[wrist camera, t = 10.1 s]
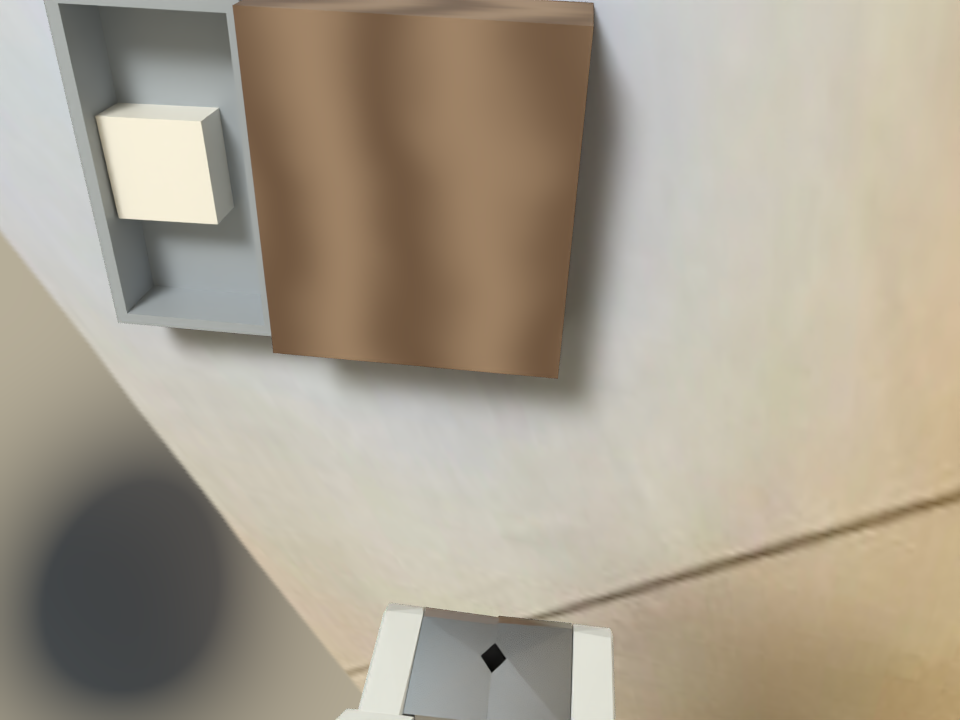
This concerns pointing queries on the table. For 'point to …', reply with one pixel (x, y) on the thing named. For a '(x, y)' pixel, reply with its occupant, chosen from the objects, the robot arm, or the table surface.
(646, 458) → the table surface
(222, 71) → the box
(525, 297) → the walnut block
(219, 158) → the tile
